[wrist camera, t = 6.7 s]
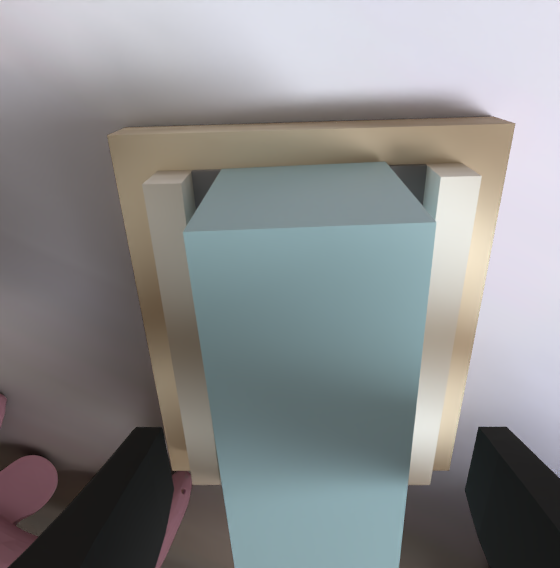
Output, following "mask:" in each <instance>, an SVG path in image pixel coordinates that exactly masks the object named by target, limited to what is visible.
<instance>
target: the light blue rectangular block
mask: <svg viewBox="0 0 560 568" xmlns="http://www.w3.org/2000/svg"><path fill="white" fill-rule="evenodd" d="M435 231H436V221H435V220H434V219H433V217H432V216H431V215H430V214H429V213H428V211H427V210H426V209H425V208H424V207H423V206H422V204H421V203H420V202H419V201H418V200H417V198H416V197H415V196H414V195H413V194H412V192H411V191H410V190H409V189H408V188H407V187H406V185H405V184H404V183H403V182H402V181H401V179H400V178H399V177H398V176H397V175H396V173H395V172H394V171H393V170H392V169H391V168H390V166H389V165H388V164H387V163H386V162H363V163H341V164H318V165H296V166H274V167H252V168H229V169H221V171H220V172H219V174H218V176H217V177H216V179H215V181H214V182H213V184H212V185H211V187H210V189H209V190H208V192H207V194H206V195H205V197H204V198H203V200H202V202H201V203H200V205H199V207H198V208H197V210H196V211H195V213H194V215H193V216H192V218H191V220H190V221H189V223H188V224H187V226H186V228H185V229H184V231H183V236H184V243H185V249H186V256H187V262H188V269H189V275H190V282H191V288H192V295H193V301H194V307H195V314H196V320H197V327H198V333H199V340H200V346H201V353H202V359H203V366H204V372H205V379H206V385H207V392H208V398H209V405H210V411H211V417H212V424H213V430H214V437H215V443H216V450H217V456H218V463H219V469H220V476H221V482H222V489H223V495H224V502H225V508H226V515H227V521H228V527H229V534H230V540H231V547H232V553H233V560H234V566H235V568H399V562H400V553H401V544H402V534H403V525H404V516H405V507H406V498H407V488H408V479H409V470H410V461H411V452H412V443H413V433H414V424H415V415H416V406H417V397H418V387H419V378H420V369H421V360H422V351H423V342H424V332H425V323H426V314H427V305H428V296H429V286H430V277H431V268H432V259H433V250H434V241H435Z"/></svg>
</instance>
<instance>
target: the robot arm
mask: <svg viewBox="0 0 560 568" xmlns="http://www.w3.org/2000/svg"><path fill="white" fill-rule="evenodd" d="M465 492H466V496H467V500H468V503H469V507H470V511H471V515H472V518H473V522H474V525H475V528H476V532H477V535H478V538H479V541H480V543H481V546H482V549H483V551H484V554H485V556H486V559H487V561H488V564H489V566H490V568H560V478H559V477H558V476H557V475H556V474H554V473H553V472H552V471H551V470H550V469H549V468H548V467H547V466H546V465H545V464H544V463H543V462H542V461H541V460H540V459H539V458H538V457H537V456H536V455H535V454H534V453H533V452H532V451H531V450H530V449H529V448H528V447H527V446H526V445H525V444H524V443H523V442H522V441H521V440H520V439H518V438H517V437H516V436H515V435H514V434H513V433H512V432H511V431H510V430H509V429H508V428H507V427H478V432H477V437H476V441H475V446H474V451H473V455H472V460H471V465H470V469H469V474H468V478H467V483H466V488H465ZM173 493H174V485H173V480H172V475H171V470H170V465H169V459H168V454H167V449H166V444H165V439H164V434H163V429H162V427H136V428H135V429H134V430H133V431H132V432H131V433H130V435H129V436H128V437H127V438H126V439H125V441H124V442H123V443H122V444H121V445H120V447H119V448H118V449H117V450H116V451H115V453H114V454H113V455H112V456H111V457H110V459H109V460H108V461H107V462H106V463H105V464H104V466H103V467H102V468H101V469H100V470H99V471H98V473H97V474H96V475H95V476H94V477H93V478H92V480H91V481H90V482H89V483H88V484H87V485H86V486H85V487H84V489H83V490H82V491H81V492H80V493H79V494H78V495H77V496H76V497H75V499H74V500H73V501H72V502H71V503H70V504H69V505H68V506H67V508H66V509H65V510H64V511H63V512H62V513H61V514H60V515H59V516H58V517H57V518H56V519H55V520H54V521H53V522H52V523H51V524H50V525H49V526H48V527H47V529H46V530H45V531H44V532H43V533H42V534H41V535H40V536H39V537H38V538H37V539H36V540H35V541H34V542H33V543H32V544H31V545H30V546H29V547H28V548H27V549H26V550H25V551H24V552H23V553H22V554H21V555H20V556H19V557H18V558H17V559H16V560H15V561H14V562H13V563H12V564H11V565H10V566H9V567H7V568H155V567H156V564H157V561H158V557H159V554H160V551H161V548H162V544H163V541H164V537H165V534H166V529H167V524H168V519H169V514H170V509H171V504H172V498H173Z"/></svg>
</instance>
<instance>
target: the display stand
mask: <svg viewBox="0 0 560 568" xmlns="http://www.w3.org/2000/svg"><path fill="white" fill-rule="evenodd" d="M514 128H515V123H512V122H509V121H506V120H503V119H499V118H496V117H459V118H425V119H391V120H357V121H323V122H289V123H255V124H221V125H187V126H153V127H125V128H122V129H120V130H118V131H116V132H113V133H111V134H109V135H107V138H108V143H109V148H110V153H111V158H112V163H113V168H114V174H115V179H116V184H117V189H118V194H119V199H120V205H121V210H122V215H123V220H124V225H125V230H126V235H127V241H128V246H129V251H130V256H131V261H132V266H133V271H134V277H135V282H136V287H137V292H138V297H139V302H140V307H141V313H142V318H143V323H144V328H145V333H146V338H147V344H148V349H149V354H150V359H151V364H152V369H153V374H154V380H155V385H156V390H157V395H158V400H159V405H160V410H161V416H162V421H163V426H164V431H165V436H166V441H167V446H168V452H169V457H170V462H171V467H172V471H191V477H192V483H193V485H220V483H221V476H220V469H219V463H218V456H217V450H216V443H215V437H214V430H213V424H212V417H211V411H210V405H209V398H208V392H207V385H206V379H205V372H204V366H203V359H202V353H201V346H200V340H199V333H198V327H197V320H196V314H195V307H194V301H193V295H192V288H191V282H190V275H189V269H188V262H187V256H186V249H185V243H184V236H183V231H184V229H185V228H186V226H187V224H188V223H189V221H190V220H191V218H192V216H193V215H194V213H195V211H196V210H197V208H198V207H199V205H200V203H201V202H202V200H203V198H204V197H205V195H206V194H207V192H208V190H209V189H210V187H211V185H212V184H213V182H214V181H215V179H216V177H217V176H218V174H219V172H220V171H221V169H229V168H252V167H274V166H296V165H318V164H341V163H363V162H386V163H387V164H388V165H389V166H390V168H391V169H392V170H393V171H394V172H395V173H396V175H397V176H398V177H399V178H400V179H401V181H402V182H403V183H404V184H405V185H406V187H407V188H408V189H409V190H410V191H411V192H412V194H413V195H414V196H415V197H416V198H417V200H418V201H419V202H420V203H421V204H422V206H423V207H424V208H425V209H426V210H427V211H428V213H429V214H430V215H431V216H432V217H433V219H434V220H435V221H436V231H435V241H434V250H433V259H432V268H431V277H430V286H429V296H428V305H427V314H426V323H425V332H424V342H423V351H422V360H421V369H420V378H419V387H418V397H417V406H416V415H415V424H414V433H413V443H412V452H411V461H410V470H409V479H408V485H430V482H431V476H432V471H449V468H450V463H451V458H452V453H453V447H454V442H455V437H456V432H457V426H458V421H459V416H460V411H461V405H462V400H463V395H464V390H465V384H466V379H467V374H468V369H469V363H470V358H471V353H472V348H473V342H474V337H475V332H476V327H477V322H478V316H479V311H480V306H481V301H482V295H483V290H484V285H485V280H486V274H487V269H488V264H489V259H490V253H491V248H492V243H493V238H494V232H495V227H496V222H497V217H498V211H499V206H500V201H501V196H502V191H503V185H504V180H505V175H506V170H507V164H508V159H509V154H510V149H511V143H512V138H513V133H514Z"/></svg>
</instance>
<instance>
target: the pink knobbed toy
mask: <svg viewBox="0 0 560 568" xmlns="http://www.w3.org/2000/svg"><path fill="white" fill-rule="evenodd" d="M6 401H7V399H6V397H5V396H4V395H2V394H0V428H1V425H2V421H3V418H4V415H5V408H6ZM172 480H173V485H174V493H173V498H172V504H171V509H170V514H169V519H168V524H167V529H166V534H165V537H164V541H163V544H162V548H161V551H160V554H159V557H158V561H157V564H156V567H155V568H160V567H161V565H162V563H163V561H164V559H165V557H166V555H167V553H168V551H169V549H170V547H171V544H172V542H173V540H174V537H175V535H176V533H177V530H178V528H179V526H180V523H181V521H182V519H183V517H184V514H185V512H186V509H187V506H188V502H189V499H190V494H191V489H192V479H191V474H190V473H189V472H188V471H177V472H176V473H175V474H173V475H172ZM57 483H58V476H57V471H56V469H55V467H54V466H53V464H52V463H51V462H50V461H49V460H47V459H45V458H44V457H41V456H37V455H28V456H24V457H21V458H19V459H18V460H16V461H14V462H13V463H11V464H10V465H9V466H7V467H6V468H5V469H3V470H2V471H0V568H7V567H9V566H10V565H11V564H12V563H13V562H14V561H15V560H16V559H17V558H18V557H19V556H20V555H21V554H22V553H23V552H24V551H25V550H26V549H27V548H28V547H29V546H30V545H31V544H32V543H33V542H34V541H35V540H36V539H37V538H38V537H37V536H35V535H32V534H30V533H28V532H25V531H23V530H21V529H20V528H18V527H16V524H17V523H18V522H19V521H21V520H23V519H25V518H27V517H29V516H30V515H32V514H34V513H35V512H37V511H38V510H40V509H41V508H42V507H43V506H44V505H45V504H46V503H47V502H48V501H49V500H50V498H51V497H52V495H53V494H54V492H55V490H56V487H57Z"/></svg>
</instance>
